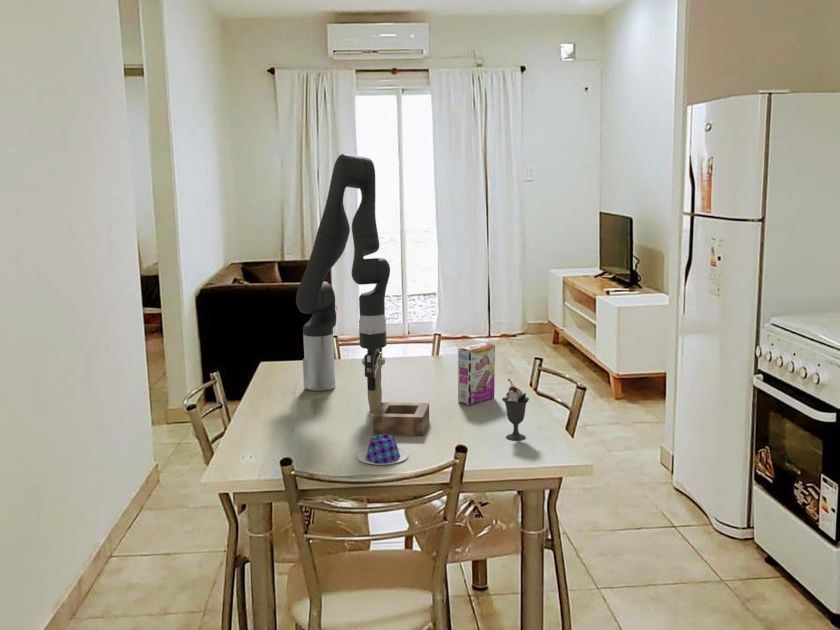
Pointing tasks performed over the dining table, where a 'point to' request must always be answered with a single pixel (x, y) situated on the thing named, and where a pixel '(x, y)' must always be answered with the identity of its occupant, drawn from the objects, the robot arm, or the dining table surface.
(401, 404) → the collar block
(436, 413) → the dining table surface
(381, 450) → the pudding
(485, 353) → the candy bar box
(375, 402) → the handle
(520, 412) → the sundae
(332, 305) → the robot arm
